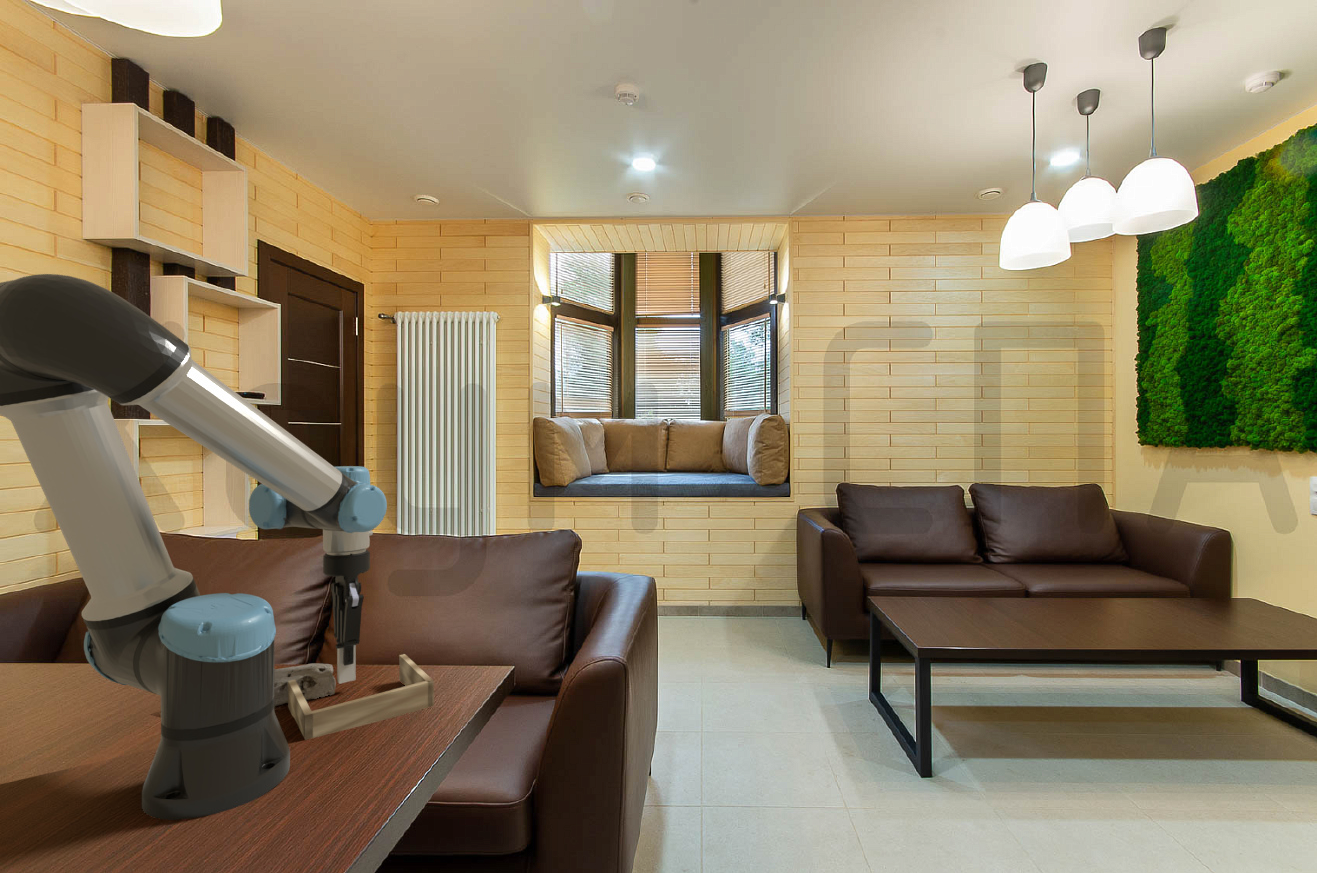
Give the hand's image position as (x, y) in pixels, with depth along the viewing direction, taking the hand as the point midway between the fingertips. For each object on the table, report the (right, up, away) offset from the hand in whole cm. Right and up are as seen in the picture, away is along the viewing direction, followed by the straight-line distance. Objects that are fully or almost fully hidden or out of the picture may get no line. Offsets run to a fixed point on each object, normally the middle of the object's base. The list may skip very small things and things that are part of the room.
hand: (346, 680), depth 106 cm
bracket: (+6, -2, -7) cm, 10 cm away
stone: (-4, 0, -5) cm, 7 cm away
